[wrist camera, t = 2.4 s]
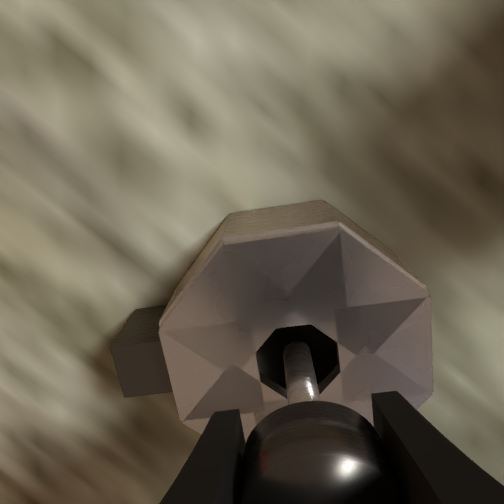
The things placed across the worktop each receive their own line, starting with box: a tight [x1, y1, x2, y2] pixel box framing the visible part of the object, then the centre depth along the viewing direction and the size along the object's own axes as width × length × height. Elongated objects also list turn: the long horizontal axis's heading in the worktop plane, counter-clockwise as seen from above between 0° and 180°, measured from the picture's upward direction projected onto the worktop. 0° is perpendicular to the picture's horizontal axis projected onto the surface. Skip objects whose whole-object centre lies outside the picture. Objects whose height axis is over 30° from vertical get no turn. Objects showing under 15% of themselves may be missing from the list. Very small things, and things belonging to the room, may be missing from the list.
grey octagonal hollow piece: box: [110, 200, 433, 442], centre depth 15 cm, size 9×10×4 cm
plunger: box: [240, 341, 405, 504], centre depth 11 cm, size 3×3×6 cm
